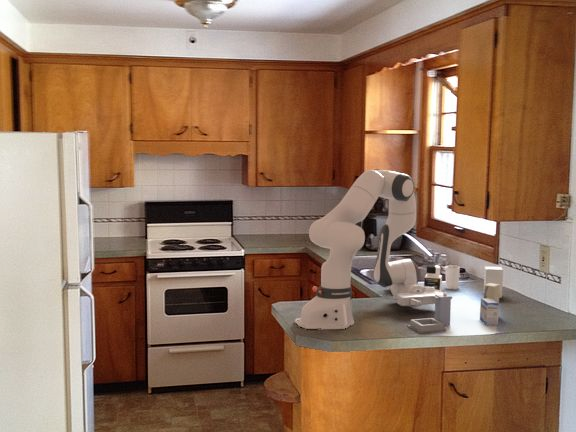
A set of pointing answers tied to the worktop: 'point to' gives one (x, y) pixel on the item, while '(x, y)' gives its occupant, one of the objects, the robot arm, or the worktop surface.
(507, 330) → the worktop surface
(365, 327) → the worktop surface
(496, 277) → the supplement box
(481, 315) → the medicine box
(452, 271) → the drinking glass
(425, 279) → the medicine bottle
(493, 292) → the box
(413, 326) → the pocket plate
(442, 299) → the block
